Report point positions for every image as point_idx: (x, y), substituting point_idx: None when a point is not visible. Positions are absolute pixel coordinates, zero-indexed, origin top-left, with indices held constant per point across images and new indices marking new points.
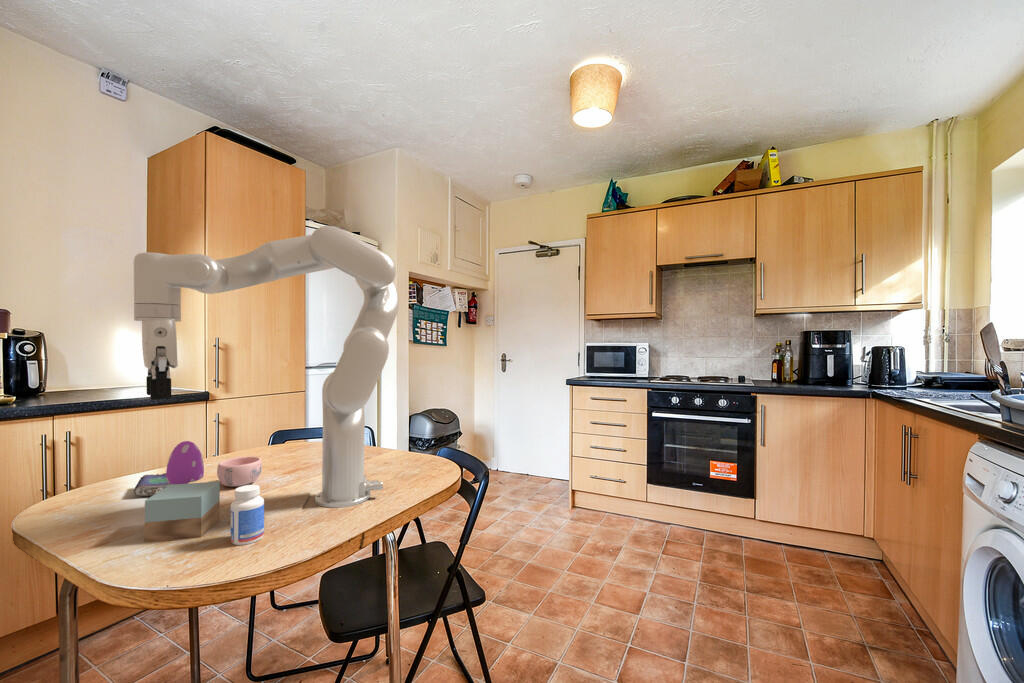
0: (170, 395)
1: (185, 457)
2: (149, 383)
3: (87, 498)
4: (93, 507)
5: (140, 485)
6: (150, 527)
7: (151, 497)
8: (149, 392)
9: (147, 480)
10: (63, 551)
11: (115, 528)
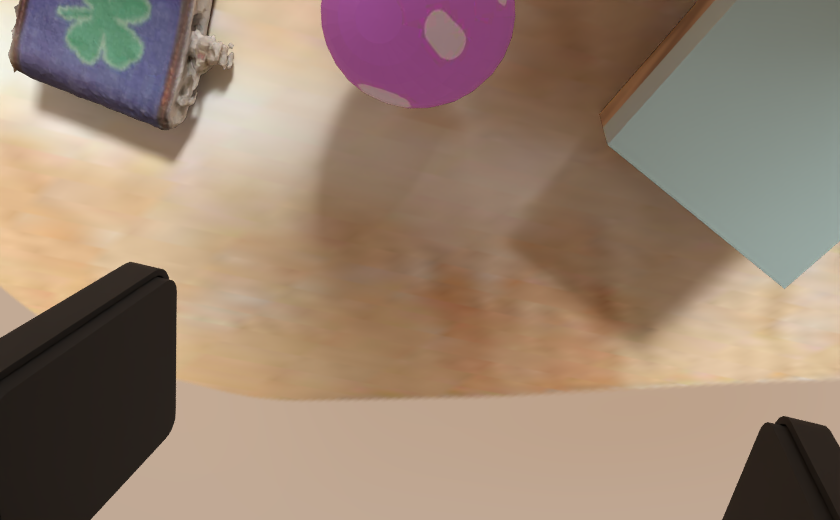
0: (826, 446)
1: (483, 41)
2: (81, 507)
3: (55, 221)
4: (180, 232)
5: (158, 110)
6: None
7: (757, 257)
8: (158, 428)
9: (95, 69)
10: (565, 378)
11: (478, 243)
